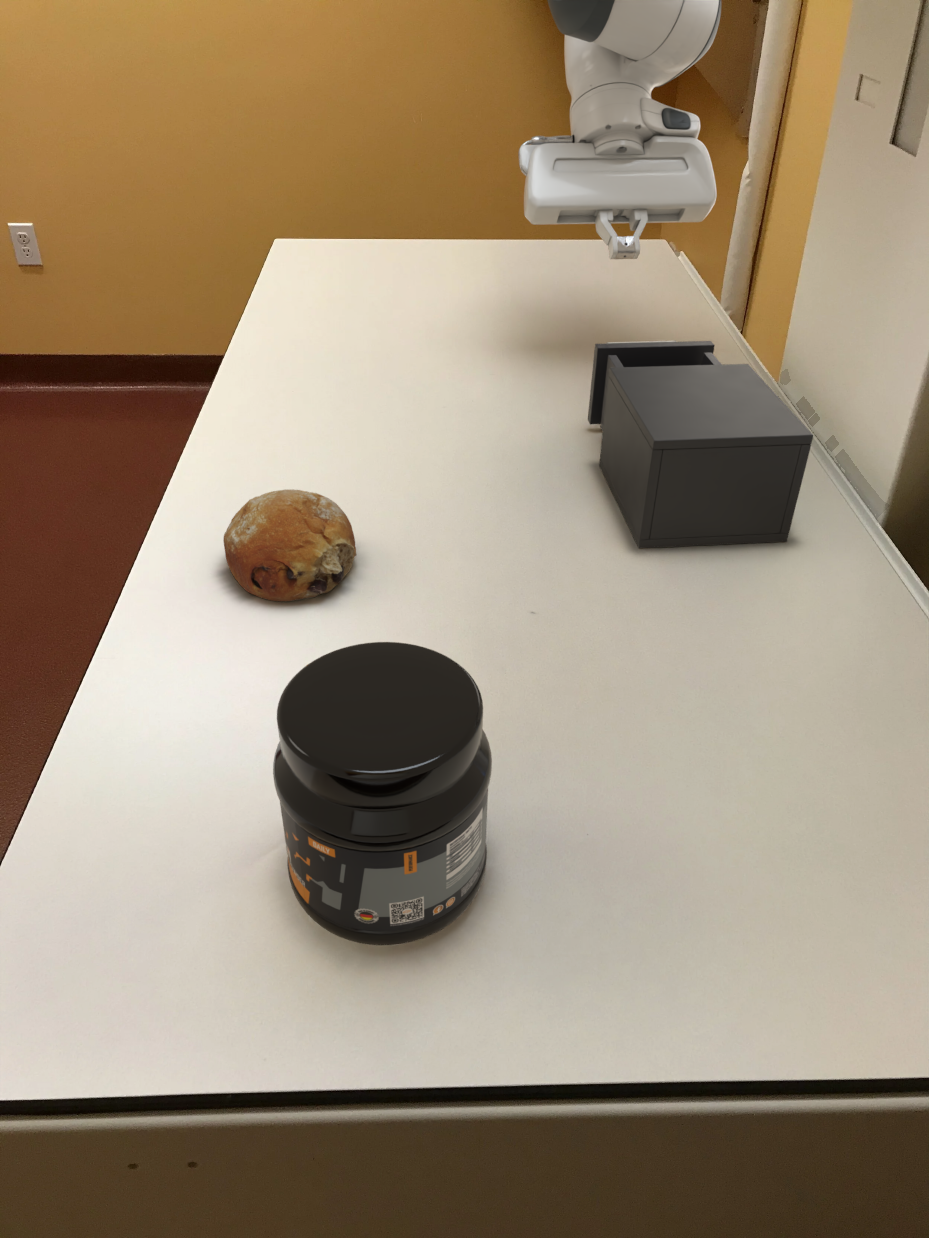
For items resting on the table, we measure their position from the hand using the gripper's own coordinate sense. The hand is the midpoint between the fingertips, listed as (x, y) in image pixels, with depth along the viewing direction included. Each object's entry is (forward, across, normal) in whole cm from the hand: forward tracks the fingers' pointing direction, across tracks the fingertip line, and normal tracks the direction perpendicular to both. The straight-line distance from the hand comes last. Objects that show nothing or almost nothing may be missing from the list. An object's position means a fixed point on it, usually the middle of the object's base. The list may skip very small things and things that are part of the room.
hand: (624, 256), depth 100 cm
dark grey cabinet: (+30, 0, -12) cm, 32 cm away
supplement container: (+57, -28, -38) cm, 74 cm away
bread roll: (+36, -34, -17) cm, 52 cm away
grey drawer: (+21, 0, -5) cm, 22 cm away
